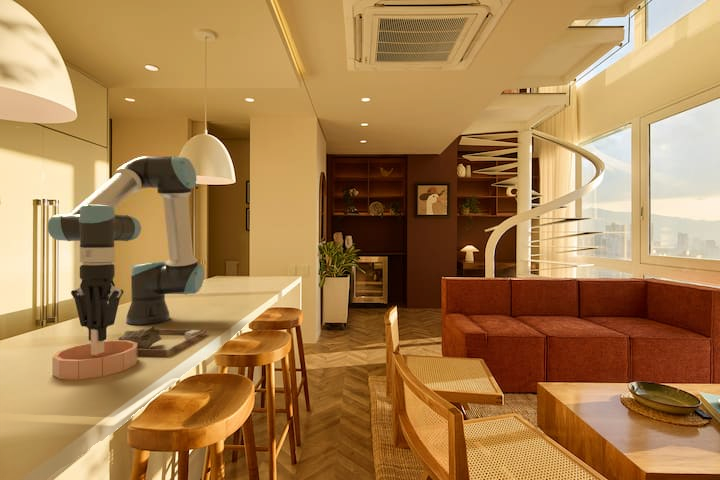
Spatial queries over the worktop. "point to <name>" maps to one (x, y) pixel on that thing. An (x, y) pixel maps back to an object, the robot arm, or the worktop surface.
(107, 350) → the bowl
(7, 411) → the worktop surface
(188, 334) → the beige rectangular block
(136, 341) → the rock
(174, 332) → the tray
